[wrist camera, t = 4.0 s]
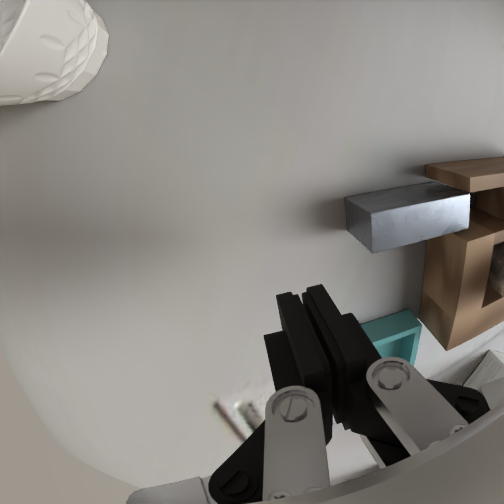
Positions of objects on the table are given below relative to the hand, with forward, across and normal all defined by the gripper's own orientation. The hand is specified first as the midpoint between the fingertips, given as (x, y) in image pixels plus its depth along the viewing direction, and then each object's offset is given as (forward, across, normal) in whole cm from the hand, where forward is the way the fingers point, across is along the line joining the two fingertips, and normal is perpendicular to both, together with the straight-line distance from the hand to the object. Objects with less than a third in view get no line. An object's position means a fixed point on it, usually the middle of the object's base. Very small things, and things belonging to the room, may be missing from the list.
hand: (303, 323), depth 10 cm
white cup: (+10, +10, -16) cm, 21 cm away
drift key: (+10, -10, 0) cm, 14 cm away
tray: (+10, -8, +13) cm, 18 cm away
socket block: (+9, -19, +5) cm, 21 cm away
